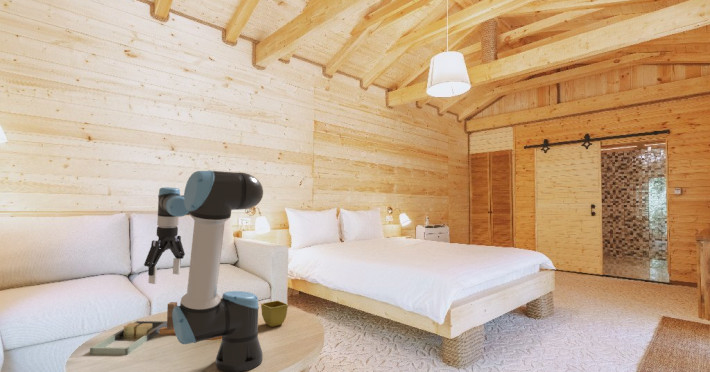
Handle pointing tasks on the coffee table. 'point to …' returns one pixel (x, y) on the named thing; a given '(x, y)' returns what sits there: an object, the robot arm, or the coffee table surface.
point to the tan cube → (130, 330)
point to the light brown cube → (143, 329)
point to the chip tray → (102, 348)
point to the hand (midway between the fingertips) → (164, 278)
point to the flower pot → (274, 312)
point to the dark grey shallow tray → (155, 330)
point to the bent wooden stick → (169, 321)
